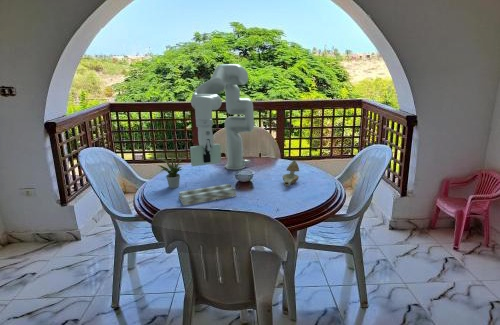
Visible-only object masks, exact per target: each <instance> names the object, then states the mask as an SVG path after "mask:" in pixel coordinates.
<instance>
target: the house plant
mask: <svg viewBox="0 0 500 325" xmlns="http://www.w3.org/2000/svg"><path fill="white" fill-rule="evenodd" d="M170 159H171V161H169V160H168V159H167V158H165V159H162V158H161V161H163V162H161V161H160V163H162V164H163V165H165V163H166V167H165V166H163V165H160V164H159V165H158V164H157V166H158V167H160V168H161V171H165V172H167V173H168V174H167V175H166V176H165V177H166V181H167V184H168V188H169V189H176V188H177V189H178V188H180V179H181V178H180V177H181V175H180V173H178V172H181V171H182V170H183V168H184V167H182V166H180V165H181V162H182V160H183V159H186V157H182V158H175V160H174V156H171V158H170ZM177 161H178V162H177ZM164 162H165V163H164Z"/></svg>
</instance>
